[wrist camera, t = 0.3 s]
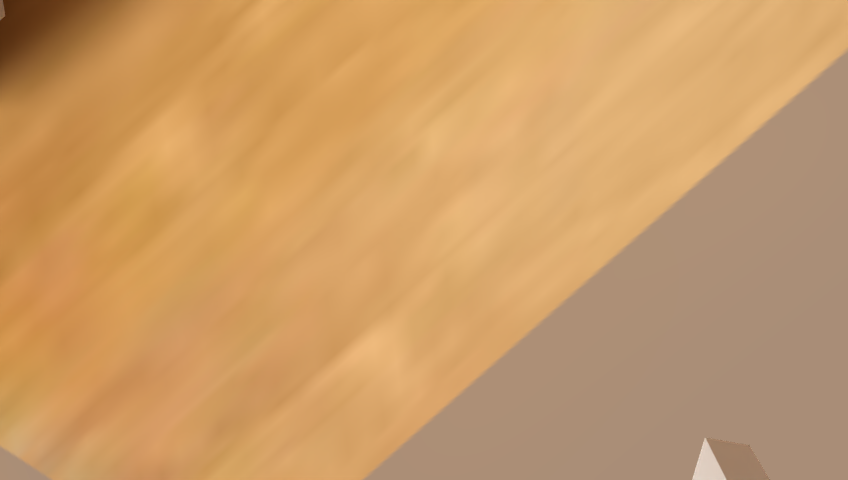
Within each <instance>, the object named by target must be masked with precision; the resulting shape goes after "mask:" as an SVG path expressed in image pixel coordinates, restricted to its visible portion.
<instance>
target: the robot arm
mask: <svg viewBox="0 0 848 480" xmlns="http://www.w3.org/2000/svg"><path fill="white" fill-rule="evenodd" d="M693 480H770V479H769V478H768V476H767V474H766V473H765V471H764V469H763V467H762V466H761V464H760V462H759V461H758V459H757V458H756V456H755V454H754V452H753V451H752V449H751V447H750V446H749V445H745V444H739V443H733V442H728V441H722V440H716V439H710V438H705V440H704V443H703V447H702V450H701V453H700V456H699V459H698V463H697V466H696V469H695V472H694V476H693Z"/></svg>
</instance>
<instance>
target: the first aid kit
mask: <svg viewBox="0 0 848 480" xmlns="http://www.w3.org/2000/svg"><path fill="white" fill-rule="evenodd" d="M3 17H5V11H4V5H3V0H0V20H1V19H2V18H3Z"/></svg>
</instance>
